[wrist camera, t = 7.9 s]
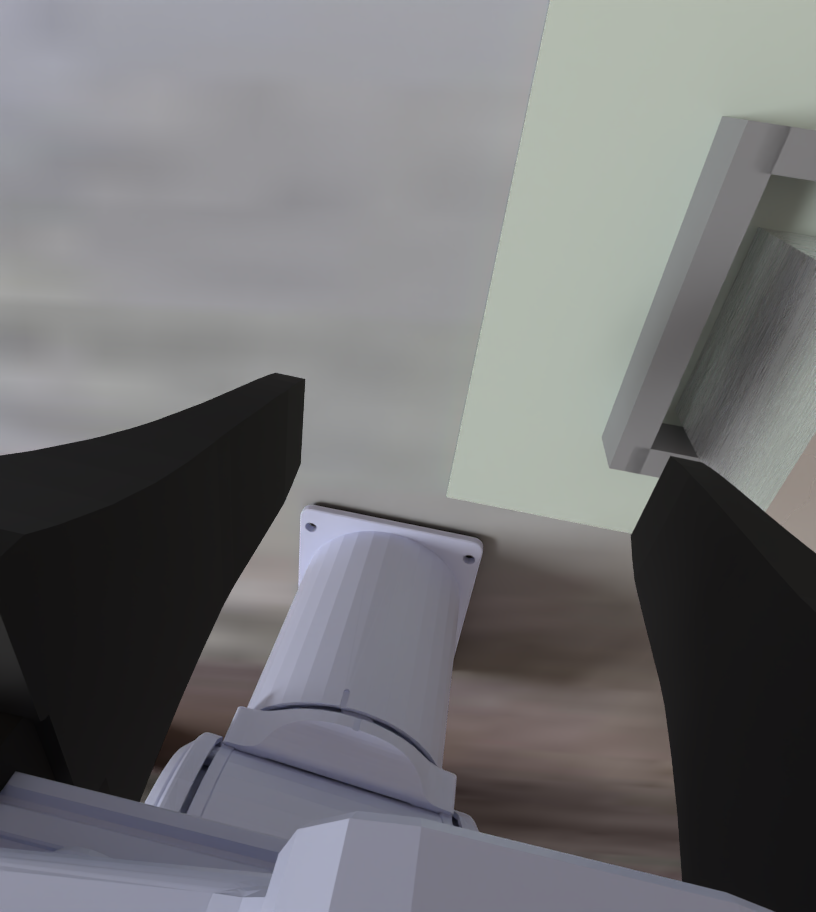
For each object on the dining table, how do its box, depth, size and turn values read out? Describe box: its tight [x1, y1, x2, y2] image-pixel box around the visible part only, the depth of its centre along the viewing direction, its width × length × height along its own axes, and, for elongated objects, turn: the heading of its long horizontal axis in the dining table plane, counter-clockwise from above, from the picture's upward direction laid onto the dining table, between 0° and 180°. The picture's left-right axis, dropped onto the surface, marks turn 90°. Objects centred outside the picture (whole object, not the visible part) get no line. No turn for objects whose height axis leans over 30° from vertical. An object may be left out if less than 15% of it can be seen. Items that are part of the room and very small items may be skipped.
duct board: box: [446, 0, 816, 534], centre depth 17 cm, size 18×18×2 cm
